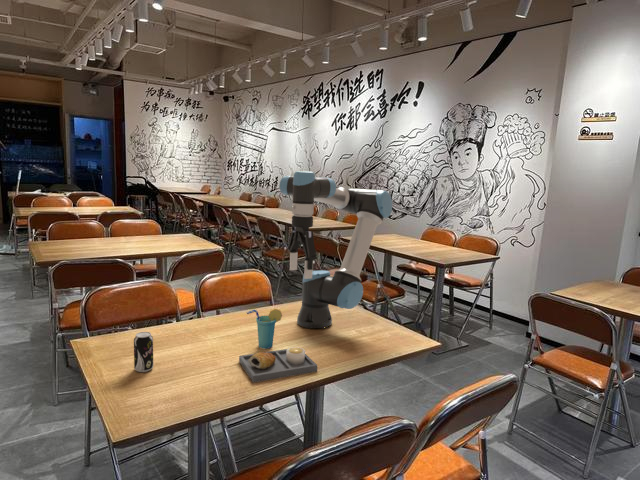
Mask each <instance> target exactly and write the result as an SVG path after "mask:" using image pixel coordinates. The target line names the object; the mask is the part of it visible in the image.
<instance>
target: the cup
mask: <svg viewBox="0 0 640 480" xmlns="http://www.w3.org/2000/svg"><path fill="white" fill-rule="evenodd" d="M252 313H255V314H256V318H255V320H256V324H257V326H256V327H257V338H258V339H257V340H258V341H257V342H258V348H259V349H262V350H263V349H264V350H265V349H267V350H269V349H270V348H273V346H274V345H273V343H274V335H275V329H276V328H275V327H276V326H275V325H276V323H277V322H280V321H281V320H282V317H283V313H282V311H281V310H280V309H278V308H274V309H271V310H270V311H269V313H268V315H260V314H259V311H258V310H257V309H252V310H249V311H246V314H247V315H250V314H252Z"/></svg>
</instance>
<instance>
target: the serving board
mask: <svg viewBox="0 0 640 480" xmlns="http://www.w3.org/2000/svg"><path fill="white" fill-rule="evenodd" d="M257 353H258V352H257ZM257 353H255V354H257ZM262 353H271V354H273V355H274V356H275V357H276V360H275V363H274V364H273V365H271V366H270V367H269V368H268V367H267V368H266V369H259V368H257V367H254V366H251V365H250V363H249V359H250V358H251V357H252V356H253V354H254V353H250V354H244V355H239V358H238V359H239V360H238V363H239V364H240V365H241V367H242V368H243V370H244V371H245V374H247V376H248V378H249V379H250V380H251V382H252V383H259V382H265V381H272V380H276V379H283V378H286V377H287V378H288V377H293V376H299V375H304V374H311V373H315V372H316V373H317V372H318V364H317V363H316V362H315V361H314V360H313V359H311V358H310V356H308V355H307V354H306V350H305V349H304V348H303V347H299V346H292V347H288V348H284V349H283V348H282V349H277V350H271V351H264V352H262Z"/></svg>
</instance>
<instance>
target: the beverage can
mask: <svg viewBox="0 0 640 480" xmlns="http://www.w3.org/2000/svg"><path fill="white" fill-rule="evenodd" d="M133 365H134V367H133V368H134V370H135V371H136V372H137V373H146V372H149V371H150V370H152V369H153V368H154V338H153V336H152V333H151V332H150V331H140V332H137V333H136V334H135V337H134V338H133Z"/></svg>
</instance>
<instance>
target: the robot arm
mask: <svg viewBox="0 0 640 480" xmlns="http://www.w3.org/2000/svg"><path fill="white" fill-rule="evenodd" d="M278 188H279V191H280V192H281V194H282V195H286V196H289V197H290V196H291V197H292V206H291V209H292V211H291V213H292V216H291V230H290V236H289V237H290V238H289V241H288V244H287V245H288V246H287V250H288V251H289V271H298V253H299V247H300V244H301V245H302V249H303V252H304V256H305V258H304V273H303V276H302V282H301V283H302V286H301V288H302V289H301V307H300V310H299V313H298V315H297V318H296V319H297V321H296V323H298V324H299V325H298V324H297V325H298V326H300V327H302V326H303V327H302V328H305V327H306V328H305V329H310V328H323V329H325V328H324V327H327V326H329V325H331V324H332V323H333V318H332V315H331V311H330V307H329V305H330V306H334V307H337V308H340V309H347V310H352V309H354V308H356V307H357V306H358V305H359V303H360V302H361V300H362V298H363V295H364V287H363V284H362V278H361V272H362V271H363V270H362V269H363V267H364V264H365V260H366V258H367V256H368V252H369V250H370V247H371V244H372V240H373V238H374V236H375V232H376V230H377V227H378V226H379V225H381V224H382V223H383V221H384V218H385V219H386V218H389V217H390V216H391V215H392V214H391V213H392V211H393V200H392V197H391V194H390V193H389V192H388V191H386V190H382V189H369V188H346V187H341V186H340V187H337V185H336V182H335V181H334V180H333V179H332V178H330V177H327V176H326V177H321V176H320V177H318V176H317V177H316V174H315V172H314V171H298V170H297V171H295V172H294V173H293V175H284V176H282V178H280V180H279V186H278ZM315 202H319V203H322V204H327V205H331V206H332V207H333V208H335V209H338V210H341V211H345V212H347V213H350V214H354V215H356V217H357V221H356V225H355V227H354V229H353V232H352V236H351V237H350V241H349V243H348V245H347V249H346V251H345V255H344V258H343V260H342V263H341V265H340V267H339V269H337V270H335V271H334V273H333V276H331V272H330V271H329V270H322V269H321V270H320V269H319V270H313V268H314V267H313V266H314V260H317V253H316V246H315V240H314V231H313V230H311V231H310V229H309V228H312V227H313V226H314V216H313V215H314V212H315V211H314V207H315V204H314V203H315ZM331 326H332V325H331ZM329 327H330V326H329ZM327 328H328V327H327Z"/></svg>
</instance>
